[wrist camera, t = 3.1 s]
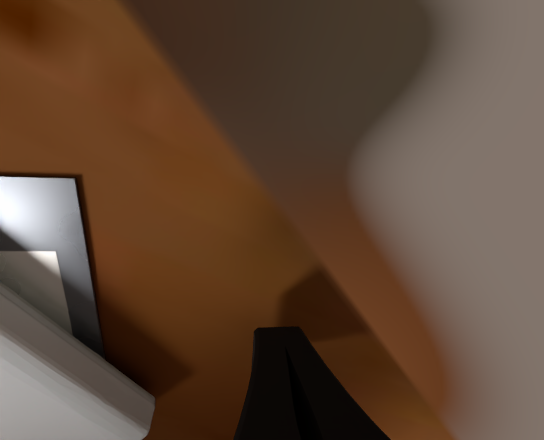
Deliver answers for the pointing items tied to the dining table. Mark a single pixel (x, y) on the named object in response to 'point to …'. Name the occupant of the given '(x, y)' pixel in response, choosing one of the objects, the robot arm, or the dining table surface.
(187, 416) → the dining table surface
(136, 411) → the external hard drive
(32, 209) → the bay plate
